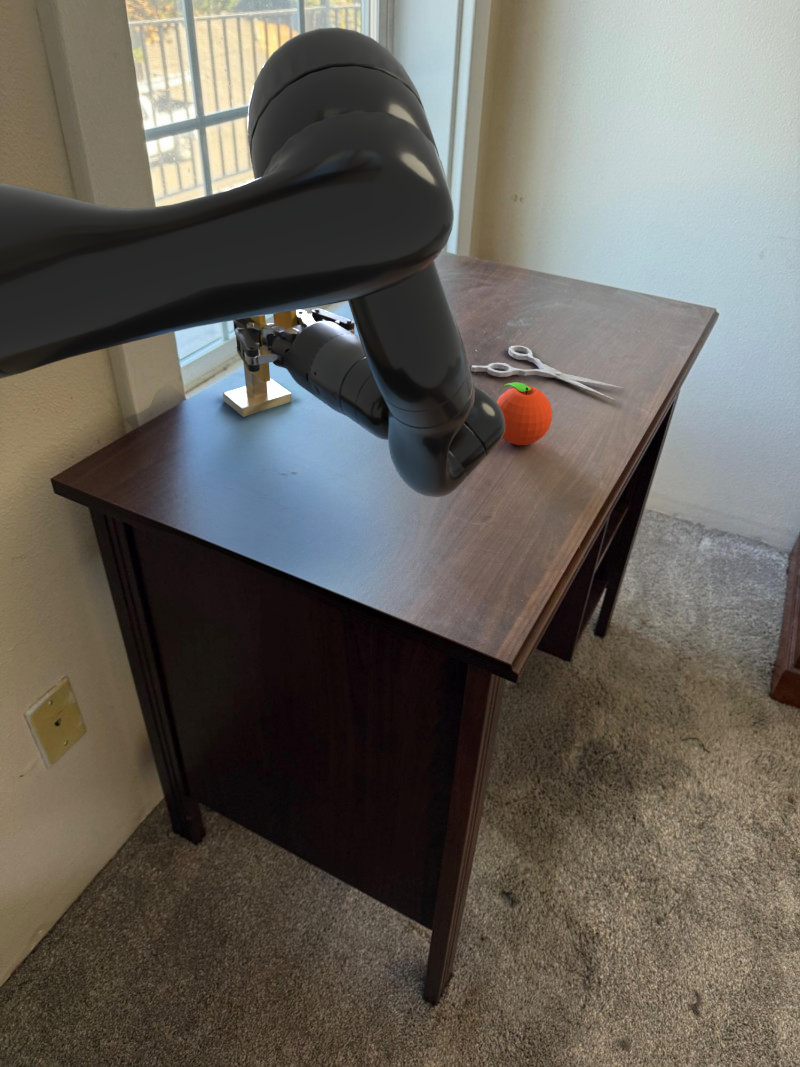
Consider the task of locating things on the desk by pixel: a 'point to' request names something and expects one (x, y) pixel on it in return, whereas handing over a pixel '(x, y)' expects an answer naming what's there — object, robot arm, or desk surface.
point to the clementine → (524, 414)
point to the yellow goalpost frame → (281, 320)
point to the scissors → (534, 370)
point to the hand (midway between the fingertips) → (258, 315)
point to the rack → (256, 395)
